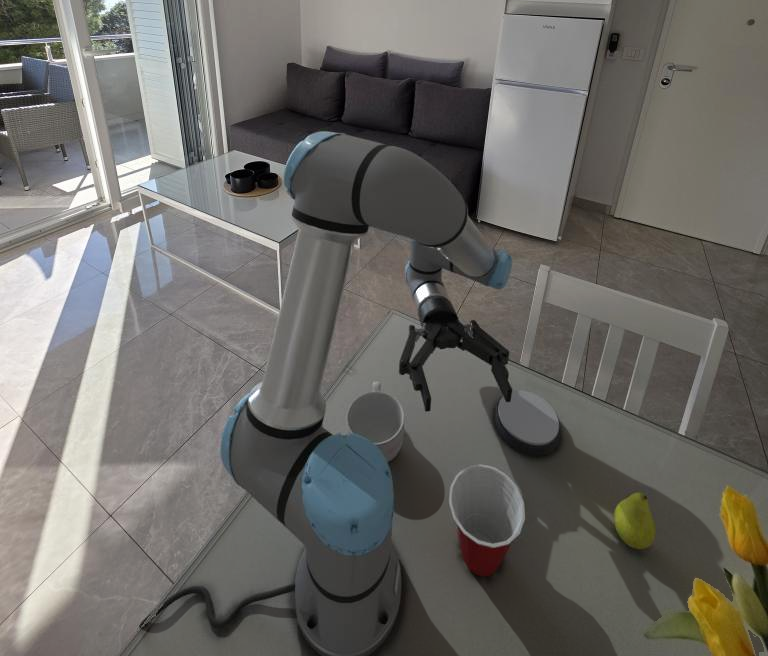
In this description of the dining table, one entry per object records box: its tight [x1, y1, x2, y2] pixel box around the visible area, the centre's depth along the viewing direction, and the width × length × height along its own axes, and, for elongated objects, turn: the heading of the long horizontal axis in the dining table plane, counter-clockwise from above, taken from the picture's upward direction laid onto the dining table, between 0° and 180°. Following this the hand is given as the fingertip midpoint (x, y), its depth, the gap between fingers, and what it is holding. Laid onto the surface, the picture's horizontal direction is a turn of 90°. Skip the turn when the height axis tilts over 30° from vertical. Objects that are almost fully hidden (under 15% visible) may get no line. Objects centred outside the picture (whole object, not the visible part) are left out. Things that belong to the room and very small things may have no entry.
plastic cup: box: [448, 463, 526, 578], centre depth 64 cm, size 11×11×12 cm
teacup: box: [345, 381, 406, 463], centre depth 82 cm, size 14×11×8 cm
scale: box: [494, 389, 562, 457], centre depth 86 cm, size 12×12×3 cm
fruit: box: [613, 492, 656, 550], centre depth 67 cm, size 6×6×12 cm
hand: (469, 400), depth 69 cm, fingers open, 13 cm apart
